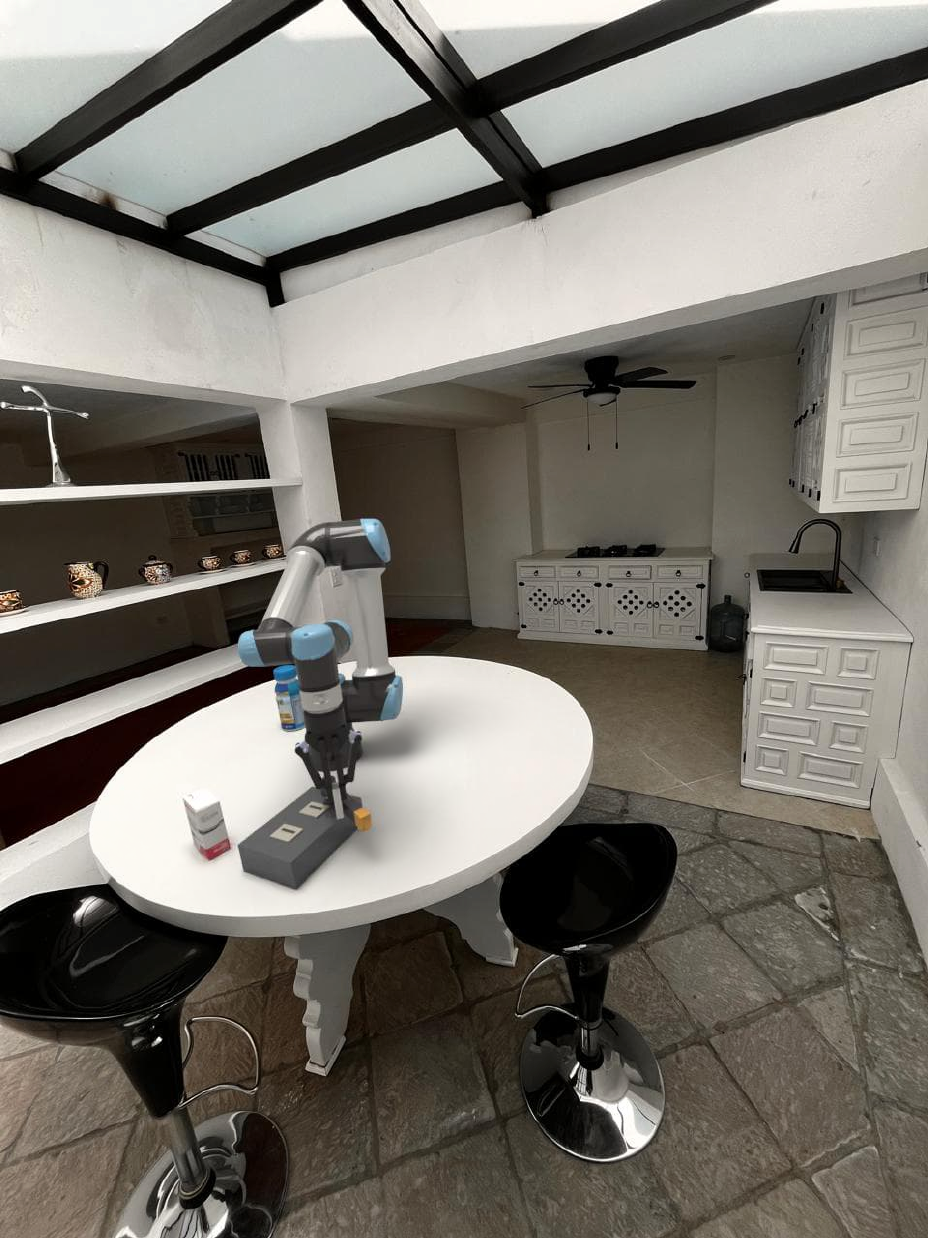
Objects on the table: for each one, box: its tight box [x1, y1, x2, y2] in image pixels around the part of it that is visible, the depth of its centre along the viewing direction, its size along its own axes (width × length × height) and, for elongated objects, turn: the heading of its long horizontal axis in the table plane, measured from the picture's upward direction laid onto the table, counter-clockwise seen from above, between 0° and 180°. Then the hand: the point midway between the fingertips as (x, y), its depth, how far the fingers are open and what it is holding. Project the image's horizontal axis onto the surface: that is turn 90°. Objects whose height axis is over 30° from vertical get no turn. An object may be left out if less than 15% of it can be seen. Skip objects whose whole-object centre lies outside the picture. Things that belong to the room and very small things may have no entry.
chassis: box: [237, 786, 364, 891], centre depth 104 cm, size 14×21×7 cm, turn 154°
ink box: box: [182, 787, 232, 861], centre depth 106 cm, size 8×5×12 cm, turn 47°
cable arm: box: [320, 775, 373, 833], centre depth 104 cm, size 4×20×3 cm, turn 38°
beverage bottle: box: [273, 664, 306, 732], centre depth 161 cm, size 8×8×20 cm
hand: (340, 814), depth 101 cm, fingers closed
